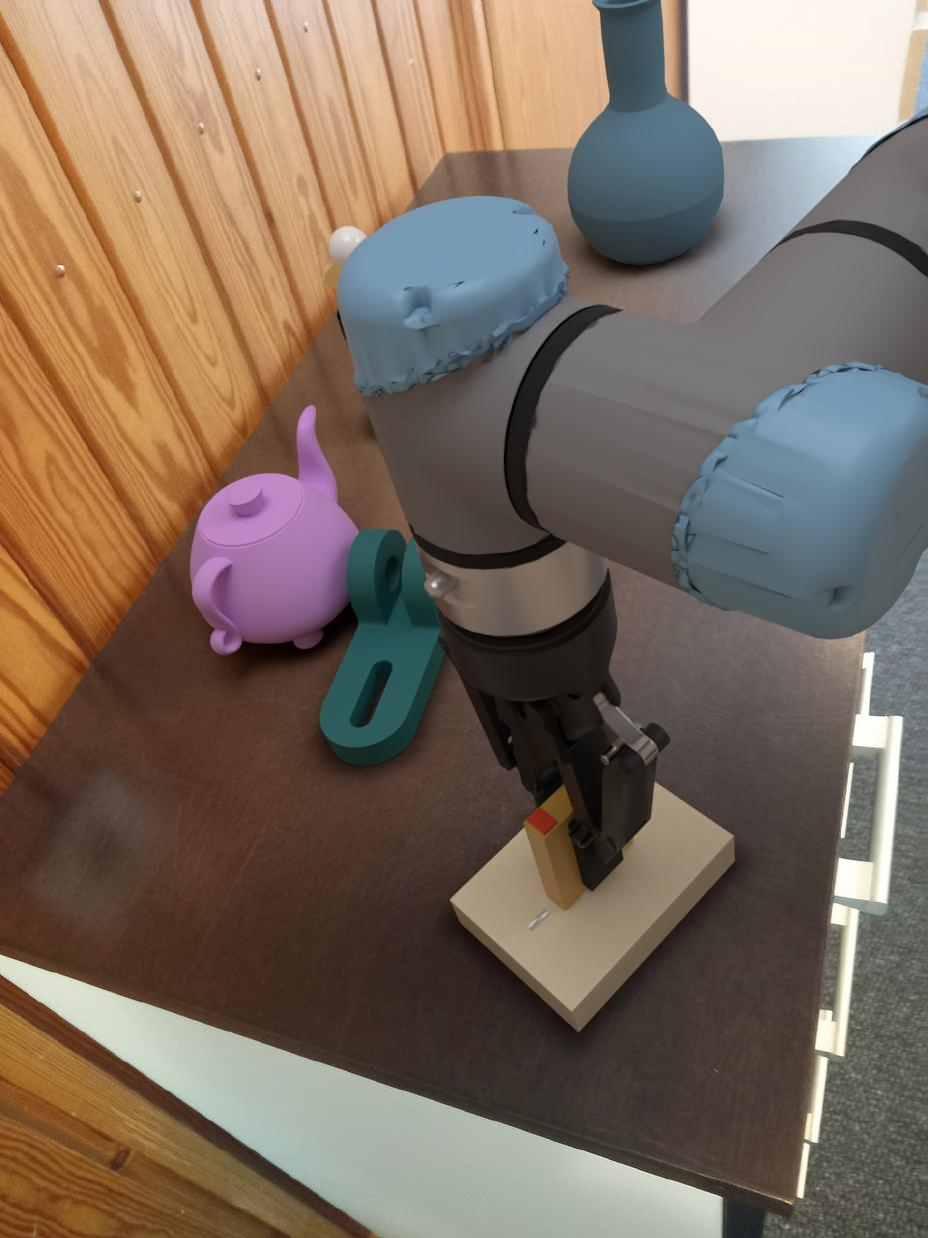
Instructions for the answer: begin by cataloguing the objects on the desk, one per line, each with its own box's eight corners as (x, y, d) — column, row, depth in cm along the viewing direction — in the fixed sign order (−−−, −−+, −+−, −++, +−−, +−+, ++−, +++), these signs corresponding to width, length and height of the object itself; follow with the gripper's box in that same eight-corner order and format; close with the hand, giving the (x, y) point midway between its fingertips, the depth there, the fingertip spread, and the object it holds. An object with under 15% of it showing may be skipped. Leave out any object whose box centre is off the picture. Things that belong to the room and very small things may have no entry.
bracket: (394, 580, 86) (368, 510, 80) (471, 585, 83) (449, 513, 78) (315, 759, 75) (278, 692, 69) (401, 771, 72) (370, 702, 67)
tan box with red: (613, 825, 62) (598, 746, 56) (634, 840, 61) (620, 761, 55) (545, 894, 60) (521, 820, 54) (565, 911, 59) (543, 837, 53)
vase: (757, 216, 113) (755, -41, 95) (671, 294, 106) (652, 32, 88) (631, 195, 122) (608, -43, 104) (546, 265, 115) (505, 23, 97)
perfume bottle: (436, 399, 102) (382, 207, 88) (426, 436, 98) (368, 241, 84) (381, 404, 103) (319, 216, 89) (369, 441, 100) (302, 250, 85)
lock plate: (611, 773, 68) (605, 746, 66) (735, 861, 62) (734, 834, 60) (459, 922, 64) (448, 898, 61) (578, 1033, 57) (570, 1010, 55)
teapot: (292, 506, 95) (243, 394, 86) (426, 527, 89) (388, 409, 80) (169, 668, 84) (98, 559, 75) (312, 705, 78) (254, 591, 69)
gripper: (347, 560, 46) (458, 832, 63) (588, 723, 38) (643, 989, 54) (467, 469, 49) (543, 753, 66) (718, 601, 40) (732, 890, 57)
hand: (588, 859), depth 60 cm, fingers closed on tan box with red, 2 cm apart
